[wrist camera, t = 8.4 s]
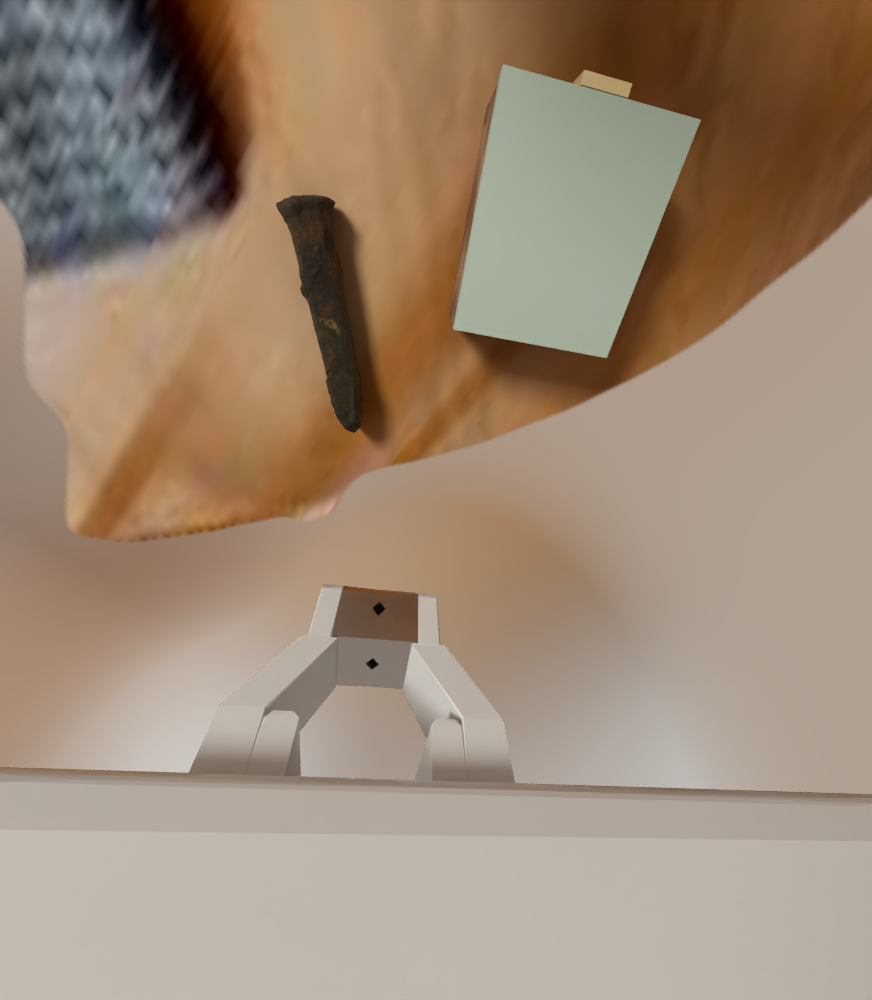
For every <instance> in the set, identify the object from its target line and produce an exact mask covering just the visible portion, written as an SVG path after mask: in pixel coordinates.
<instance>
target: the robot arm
mask: <svg viewBox="0 0 872 1000" xmlns="http://www.w3.org/2000/svg"><path fill="white" fill-rule="evenodd" d="M335 685H347V686H373V687H384V688H395V689H403V690H402V691H403V693H404V695H405V697H406V699H407V701H408V703H409V705H410V707H411V709H412V711H413V713H414V715H415V717H416V719H417V721H418V723H419V725H420V727H421V729H422V731H423V733H424V735H425V736H426V739H427V741H426V745H425V748H424V752H423V755H422V758H421V761H420V764H419V768H418V771H417V774H416V778H415V780H400V779H399V780H398V779H367V778H336V777H335V778H334V777H304V776H300V775H301V770H300V735H299V732H300V731H301V729H302V728H303V727H304V725H305V724H306V723H307V722H308V721H309V719H310V718H311V717H312V716H313V714H314V713H315V712H316V711H317V710H318V708H319V707H320V706H321V705H322V703H323V702H324V701H325V700H326V698H327V697H328V696H329V695H330V693H331V692H332V691H333V690H334V688H335ZM0 1000H872V794H845V793H814V792H781V791H779V792H778V791H750V790H717V789H684V788H682V789H681V788H652V787H618V786H585V785H553V784H523V783H522V784H521V783H515V782H514V776H513V771H512V765H511V760H510V755H509V749H508V744H507V738H506V733H505V727H504V723H503V720H502V718H501V717H500V716H499V715H498V713H497V712H496V711H495V710H494V708H493V707H492V705H491V704H490V703H489V701H488V700H487V699H486V698H485V696H484V695H483V694H482V692H481V691H480V690H479V688H478V687H477V686H476V685H475V683H474V682H473V681H472V679H471V678H470V677H469V675H468V674H467V673H466V671H465V670H464V669H463V668H462V666H461V665H460V664H459V662H458V661H457V660H456V658H455V657H454V656H453V654H452V653H451V652H450V650H449V649H448V648H447V647H446V646H444V645H440V634H439V618H438V600H437V596H436V594H425V593H418V594H417V593H413V592H400V591H388V590H374V589H366V588H357V587H348V586H336V585H328V584H324V585H323V587H322V589H321V592H320V596H319V599H318V603H317V606H316V609H315V613H314V616H313V619H312V623H311V626H310V630H309V633H308V635H301V636H300V637H299V638H298V639H296V640H295V641H294V642H293V643H292V644H291V645H289V646H288V647H287V648H286V649H285V650H284V651H282V652H281V653H280V654H279V655H278V656H277V657H275V658H274V659H273V660H272V661H271V662H269V663H268V664H267V665H266V666H265V667H264V668H263V669H262V670H260V671H259V672H258V673H257V674H255V675H254V676H253V677H252V678H251V679H249V680H248V681H247V682H246V683H245V684H244V685H243V686H241V687H240V688H239V689H238V690H237V691H235V692H234V693H233V694H232V695H231V696H230V697H228V698H227V699H226V700H225V701H224V702H223V703H221V704H220V705H219V707H218V709H217V711H216V714H215V716H214V718H213V720H212V722H211V725H210V727H209V729H208V731H207V734H206V736H205V738H204V740H203V742H202V745H201V747H200V749H199V751H198V753H197V756H196V758H195V760H194V762H193V765H192V767H191V769H190V771H189V773H176V772H144V771H111V770H110V771H109V770H79V769H78V770H77V769H47V768H46V769H45V768H15V767H14V768H13V767H0Z"/></svg>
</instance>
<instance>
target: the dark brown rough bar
mask: <svg viewBox="0 0 872 1000" xmlns="http://www.w3.org/2000/svg"><path fill="white" fill-rule="evenodd" d="M334 205H335V202H334V201H333V200H332V199H330V198H328V197H324V196H316V195H306V196H305V195H303V196H291V197H289V198H285V199H284V200H282V201H280V202H278V203H276V206H277V208H278V210H279V212H280V213H281V215H282V216H283V219H284V221H285V222H286V224H287V225H288V228H289V230H290V232H291V236H292V239H293V244H294V248H295V253H296V255H297V260H298V263H299V272H300V279H301V282H302V285H301V288H300V290H301V293H302V295H303V296H304V297H305V298H306V299H307V301H308V304H309V307H310V311H311V315H312V319H313V324H314V328H315V332H316V335H317V338H318V343H319V347H320V350H321V354H322V358H323V362H324V366H325V370H326V375H327V380H326V383H327V387H328V392H329V394H330V397H331V404H332V405H333V407H334V409H335V414H336V416H337V418H338V420H339V421H340V423H341V424H342V425H343V426H344V428H345V429H346V430H347V431H350V432H356V431H357V430H358V429H359V428H360V414H361V412H362V408H361V393H360V388H361V386H360V375H359V372H358V370H357V366H356V360H355V354H354V347H353V341H352V335H351V329H350V322H349V317H348V313H347V309H346V302H345V297H344V288H343V279H342V273H341V268H340V265H339V259H338V254H337V252H336V247H335V241H334V236H333V229H332V223H331V211H332V209H333V207H334Z"/></svg>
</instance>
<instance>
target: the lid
mask: <svg viewBox="0 0 872 1000" xmlns="http://www.w3.org/2000/svg"><path fill="white" fill-rule="evenodd" d="M631 87H632V83H629V82H625V81H622V80H618V79H615V78H611V77H608V76H605V75H601V74H598V73H594V72H591V71H587V70H584V71H583V72H582V73H581V74H580V75H579V77H578V78H577V79H576V80H575V81H574V82H573V83H569V82H565V81H562V80H558V79H555V78H551V77H548V76H544V75H540V74H537V73H533V72H530V71H526V70H523V69H519V68H516V67H512V66H508V65H505V64H503V66H502V68H501V70H500V75H499V80H498V85H497V91H496V96H495V102H494V107H493V113H492V118H491V123H490V129H489V134H488V140H487V145H486V151H485V156H484V161H483V167H482V172H481V178H480V183H479V188H478V194H477V199H476V205H475V210H474V216H473V221H472V226H471V232H470V237H469V243H468V248H467V254H466V259H465V264H464V270H463V275H462V281H461V286H460V291H459V297H458V302H457V308H456V313H455V319H454V324H453V329H454V330H458V331H464V332H469V333H475V334H480V335H485V336H491V337H496V338H501V339H507V340H512V341H517V342H523V343H528V344H533V345H539V346H544V347H549V348H555V349H560V350H566V351H571V352H576V353H582V354H587V355H592V356H598V357H603V358H607V356H608V353H609V351H610V348H611V346H612V343H613V341H614V338H615V336H616V333H617V331H618V328H619V326H620V323H621V321H622V318H623V316H624V313H625V310H626V308H627V305H628V303H629V300H630V298H631V295H632V293H633V290H634V288H635V285H636V283H637V280H638V278H639V275H640V273H641V270H642V268H643V265H644V262H645V260H646V257H647V255H648V252H649V250H650V247H651V245H652V242H653V240H654V237H655V235H656V232H657V230H658V227H659V225H660V222H661V219H662V217H663V214H664V212H665V209H666V207H667V204H668V202H669V199H670V197H671V194H672V192H673V189H674V187H675V184H676V182H677V179H678V176H679V174H680V171H681V169H682V166H683V164H684V161H685V159H686V156H687V154H688V151H689V149H690V146H691V144H692V141H693V139H694V136H695V133H696V131H697V128H698V126H699V123H700V121H701V119H697V118H693V117H690V116H686V115H683V114H679V113H676V112H672V111H669V110H665V109H661V108H658V107H654V106H651V105H647V104H644V103H640V102H636V101H633V100H629V99H627V98H628V96H629V93H630V90H631Z"/></svg>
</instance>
